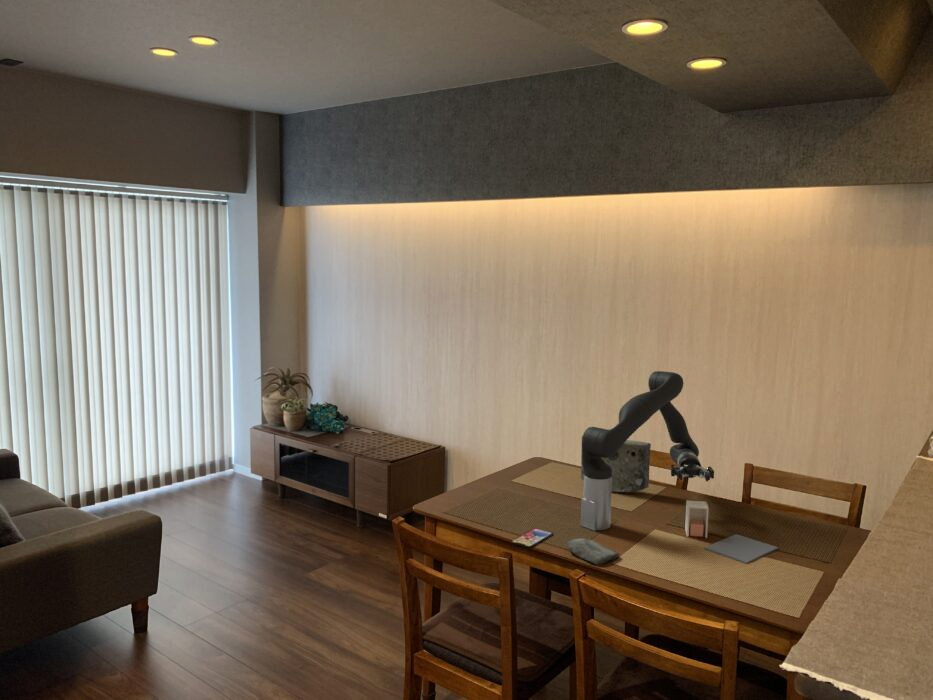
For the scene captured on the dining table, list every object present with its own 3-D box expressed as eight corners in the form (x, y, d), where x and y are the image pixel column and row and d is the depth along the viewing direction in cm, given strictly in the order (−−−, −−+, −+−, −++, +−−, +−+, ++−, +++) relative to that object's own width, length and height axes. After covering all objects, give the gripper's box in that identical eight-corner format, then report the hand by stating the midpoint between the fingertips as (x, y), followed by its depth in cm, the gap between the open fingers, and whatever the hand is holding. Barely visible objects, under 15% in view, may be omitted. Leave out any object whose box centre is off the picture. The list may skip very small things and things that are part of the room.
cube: (690, 535, 235) (690, 524, 235) (688, 531, 239) (689, 519, 239) (703, 536, 234) (703, 524, 234) (701, 532, 238) (702, 520, 238)
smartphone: (554, 533, 235) (530, 546, 223) (554, 535, 235) (530, 549, 223) (534, 527, 240) (509, 541, 228) (534, 530, 240) (509, 544, 228)
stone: (559, 550, 222) (596, 573, 211) (560, 538, 221) (597, 561, 210) (583, 538, 229) (620, 560, 218) (584, 527, 227) (622, 548, 216)
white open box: (687, 536, 234) (688, 506, 233) (685, 529, 240) (686, 500, 239) (707, 538, 233) (708, 507, 232) (704, 531, 239) (706, 501, 238)
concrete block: (576, 485, 286) (577, 436, 284) (585, 480, 293) (587, 432, 291) (640, 498, 271) (642, 446, 269) (649, 492, 278) (651, 441, 276)
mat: (746, 563, 213) (746, 562, 213) (704, 549, 224) (704, 547, 224) (777, 548, 225) (777, 547, 225) (736, 535, 236) (736, 533, 235)
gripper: (668, 453, 262) (672, 466, 247) (710, 455, 260) (716, 468, 244) (668, 473, 263) (672, 487, 248) (709, 475, 261) (715, 489, 245)
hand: (694, 477), depth 246 cm, fingers open, 8 cm apart
